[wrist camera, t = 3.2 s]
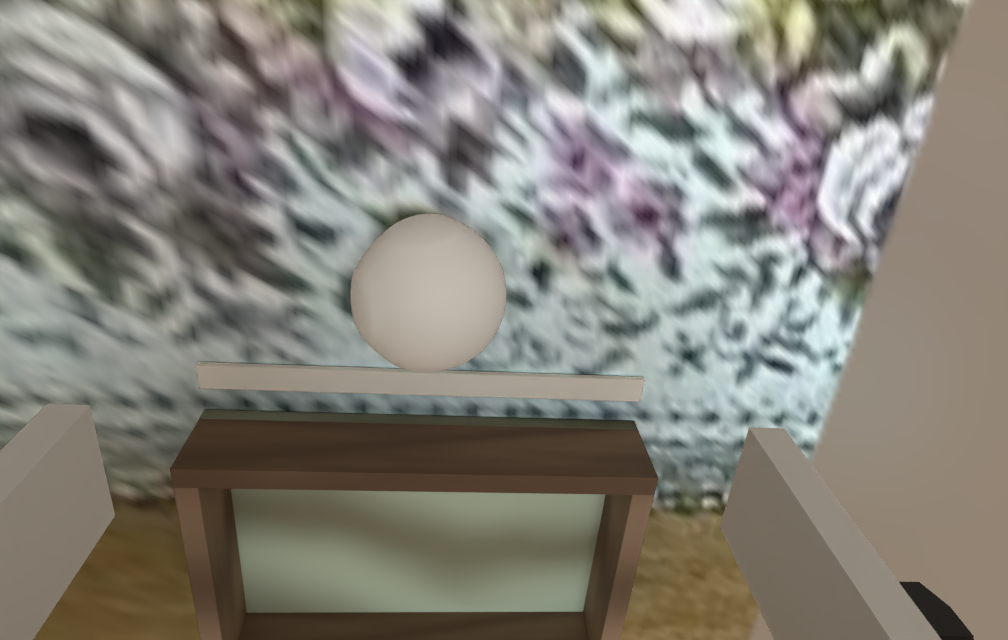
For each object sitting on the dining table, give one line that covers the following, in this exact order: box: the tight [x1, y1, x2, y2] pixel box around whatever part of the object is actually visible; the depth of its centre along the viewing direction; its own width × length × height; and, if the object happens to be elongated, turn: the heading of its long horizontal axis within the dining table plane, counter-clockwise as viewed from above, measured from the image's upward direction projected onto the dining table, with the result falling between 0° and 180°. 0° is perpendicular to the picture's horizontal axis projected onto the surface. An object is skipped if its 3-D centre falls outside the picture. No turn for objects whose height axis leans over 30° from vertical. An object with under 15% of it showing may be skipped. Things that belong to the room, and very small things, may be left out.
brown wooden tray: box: [170, 410, 658, 640], centre depth 27 cm, size 11×17×4 cm, turn 85°
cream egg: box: [351, 213, 506, 373], centre depth 21 cm, size 5×5×5 cm
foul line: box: [196, 362, 645, 402], centre depth 25 cm, size 1×17×1 cm, turn 86°
